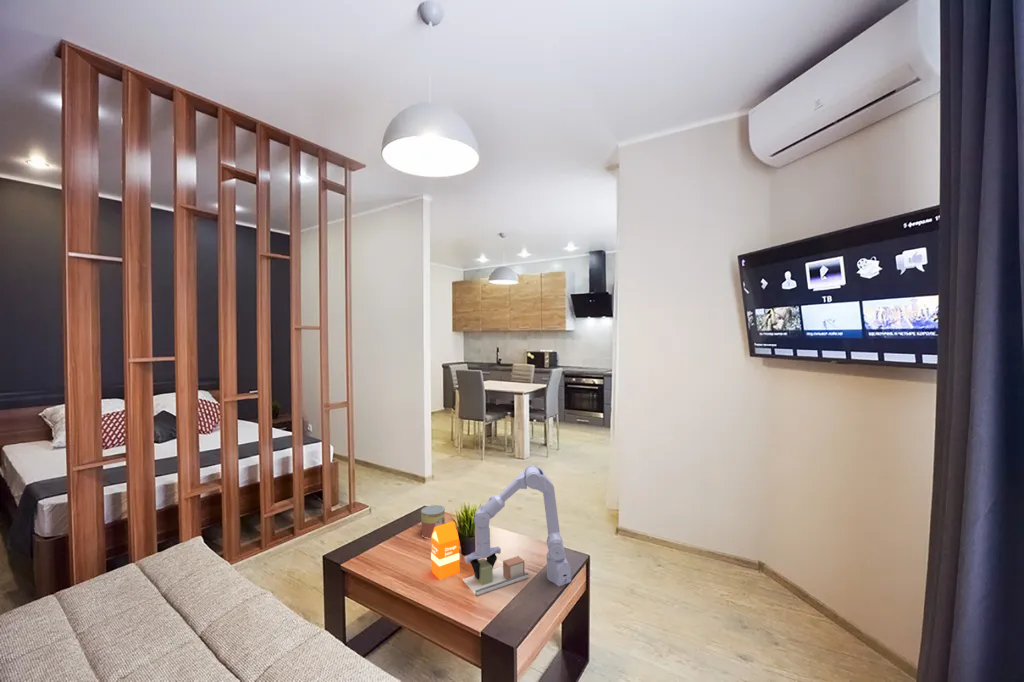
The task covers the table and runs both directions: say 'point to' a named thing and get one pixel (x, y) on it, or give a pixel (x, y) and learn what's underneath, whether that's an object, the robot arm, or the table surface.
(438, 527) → the orange juice
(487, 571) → the tea box olive
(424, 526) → the canned food
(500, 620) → the table surface
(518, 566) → the tea box rust
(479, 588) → the shelf board
